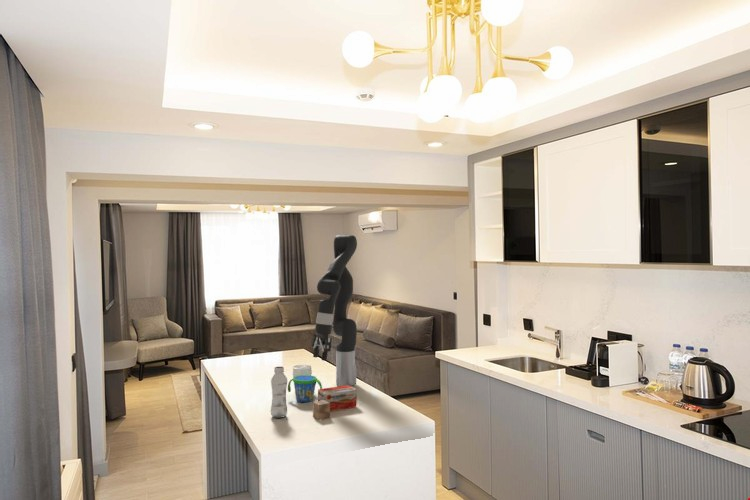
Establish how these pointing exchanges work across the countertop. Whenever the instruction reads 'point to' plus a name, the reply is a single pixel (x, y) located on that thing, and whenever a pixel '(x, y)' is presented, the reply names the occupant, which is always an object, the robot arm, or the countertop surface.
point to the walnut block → (321, 409)
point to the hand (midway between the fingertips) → (319, 358)
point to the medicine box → (339, 397)
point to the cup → (301, 370)
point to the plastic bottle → (279, 393)
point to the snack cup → (304, 387)
